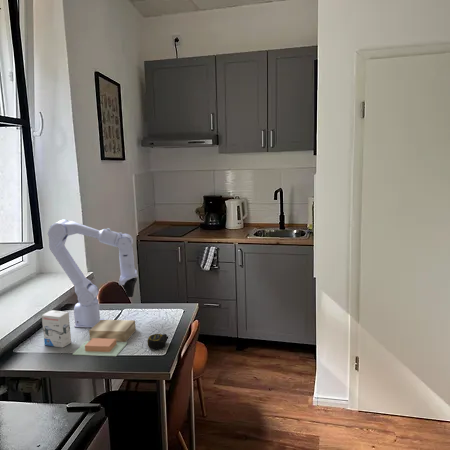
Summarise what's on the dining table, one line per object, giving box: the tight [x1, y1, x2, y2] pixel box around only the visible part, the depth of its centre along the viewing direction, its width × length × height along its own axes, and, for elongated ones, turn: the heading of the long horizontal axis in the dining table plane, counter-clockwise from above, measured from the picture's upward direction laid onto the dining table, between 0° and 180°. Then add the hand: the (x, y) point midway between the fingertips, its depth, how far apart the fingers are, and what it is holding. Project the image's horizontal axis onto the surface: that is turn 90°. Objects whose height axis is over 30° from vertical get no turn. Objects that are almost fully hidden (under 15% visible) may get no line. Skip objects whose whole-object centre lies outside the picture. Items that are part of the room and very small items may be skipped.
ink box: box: [41, 309, 72, 348], centre depth 152 cm, size 9×5×12 cm, turn 71°
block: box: [85, 338, 117, 352], centre depth 147 cm, size 9×6×2 cm, turn 81°
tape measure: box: [146, 333, 169, 350], centre depth 147 cm, size 7×7×4 cm
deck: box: [88, 319, 137, 342], centre depth 158 cm, size 14×10×4 cm
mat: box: [72, 340, 128, 357], centre depth 147 cm, size 16×10×1 cm, turn 81°
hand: (130, 296), depth 169 cm, fingers closed
